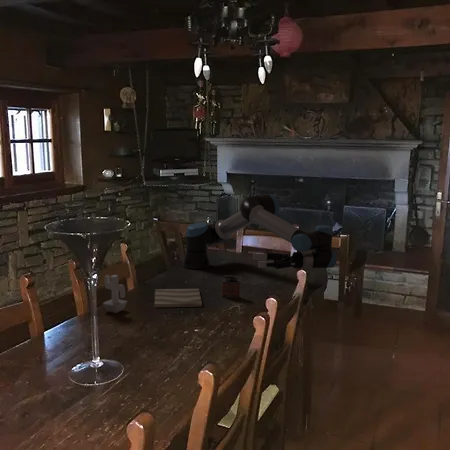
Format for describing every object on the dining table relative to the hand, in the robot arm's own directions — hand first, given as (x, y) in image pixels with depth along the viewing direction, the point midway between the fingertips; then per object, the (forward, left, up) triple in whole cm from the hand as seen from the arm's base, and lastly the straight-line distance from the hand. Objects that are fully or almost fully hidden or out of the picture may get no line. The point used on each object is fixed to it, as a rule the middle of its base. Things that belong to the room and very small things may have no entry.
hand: (255, 260), depth 226 cm
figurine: (+15, -61, -17) cm, 65 cm away
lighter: (0, -11, -17) cm, 20 cm away
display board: (+2, -35, -17) cm, 39 cm away
